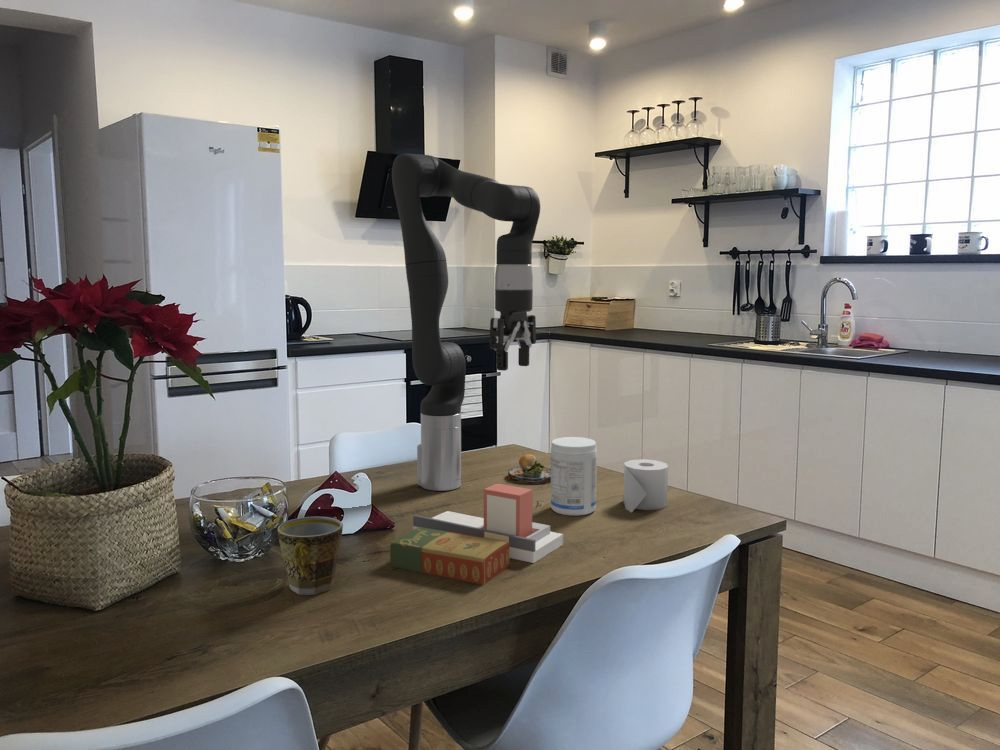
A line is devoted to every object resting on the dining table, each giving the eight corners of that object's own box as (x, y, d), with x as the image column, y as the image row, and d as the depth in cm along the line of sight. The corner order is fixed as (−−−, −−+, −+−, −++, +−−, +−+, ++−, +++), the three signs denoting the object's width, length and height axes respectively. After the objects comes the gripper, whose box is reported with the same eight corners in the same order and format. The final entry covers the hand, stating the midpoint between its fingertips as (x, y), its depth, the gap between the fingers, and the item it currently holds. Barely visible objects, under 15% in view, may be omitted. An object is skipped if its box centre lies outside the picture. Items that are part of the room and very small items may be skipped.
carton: (483, 587, 129) (483, 558, 128) (388, 568, 137) (388, 540, 136) (510, 567, 137) (510, 539, 137) (419, 550, 146) (418, 524, 145)
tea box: (519, 545, 141) (519, 495, 140) (483, 537, 145) (483, 489, 144) (532, 537, 145) (532, 489, 144) (497, 530, 149) (497, 483, 148)
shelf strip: (413, 536, 152) (412, 515, 151) (447, 520, 161) (447, 501, 161) (533, 563, 138) (533, 541, 138) (563, 544, 148) (563, 523, 147)
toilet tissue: (627, 515, 166) (628, 474, 164) (622, 496, 179) (623, 458, 178) (671, 516, 165) (673, 475, 164) (663, 497, 178) (664, 459, 177)
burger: (558, 485, 188) (558, 454, 187) (507, 485, 188) (507, 454, 187) (555, 472, 200) (555, 443, 199) (507, 472, 200) (507, 442, 199)
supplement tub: (573, 500, 175) (574, 434, 173) (605, 511, 168) (607, 442, 166) (540, 509, 169) (541, 440, 167) (572, 520, 162) (573, 448, 160)
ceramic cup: (290, 574, 133) (288, 515, 132) (350, 575, 133) (348, 516, 131) (264, 607, 120) (262, 542, 119) (331, 608, 120) (329, 543, 119)
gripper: (511, 288, 153) (511, 373, 155) (547, 287, 165) (546, 365, 167) (478, 288, 157) (478, 370, 159) (515, 286, 169) (515, 363, 171)
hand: (513, 368), depth 163 cm, fingers open, 8 cm apart
